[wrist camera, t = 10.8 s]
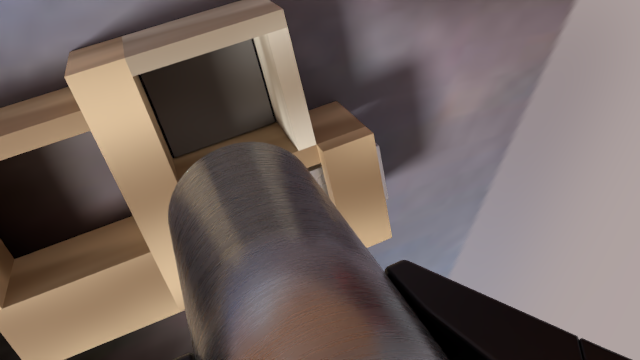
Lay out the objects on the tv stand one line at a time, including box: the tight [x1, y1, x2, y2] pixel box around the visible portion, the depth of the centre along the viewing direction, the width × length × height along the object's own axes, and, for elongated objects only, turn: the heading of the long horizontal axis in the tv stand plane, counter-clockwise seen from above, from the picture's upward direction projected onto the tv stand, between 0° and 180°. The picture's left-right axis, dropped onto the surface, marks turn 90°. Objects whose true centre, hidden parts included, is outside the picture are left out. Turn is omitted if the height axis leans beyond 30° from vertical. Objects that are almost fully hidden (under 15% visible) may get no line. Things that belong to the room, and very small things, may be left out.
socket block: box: [0, 36, 392, 360], centre depth 20 cm, size 10×15×4 cm
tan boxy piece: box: [122, 0, 316, 157], centre depth 19 cm, size 5×5×3 cm
